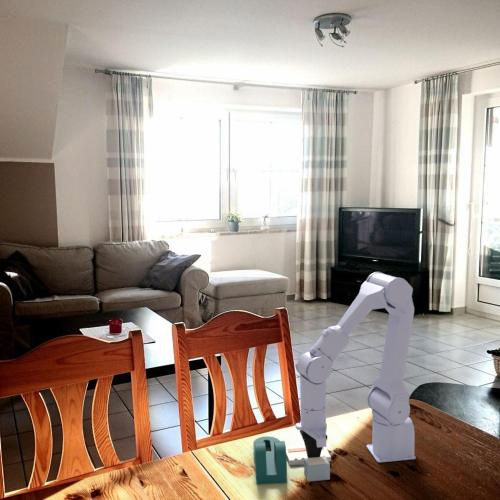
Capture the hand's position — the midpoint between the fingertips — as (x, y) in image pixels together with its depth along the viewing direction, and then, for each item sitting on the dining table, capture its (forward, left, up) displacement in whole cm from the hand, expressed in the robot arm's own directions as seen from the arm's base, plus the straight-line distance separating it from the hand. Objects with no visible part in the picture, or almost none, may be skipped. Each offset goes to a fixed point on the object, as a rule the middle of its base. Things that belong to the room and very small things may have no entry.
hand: (313, 461), depth 125 cm
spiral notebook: (0, -6, -2) cm, 6 cm away
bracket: (+10, -5, -2) cm, 11 cm away
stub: (0, +3, -2) cm, 4 cm away
